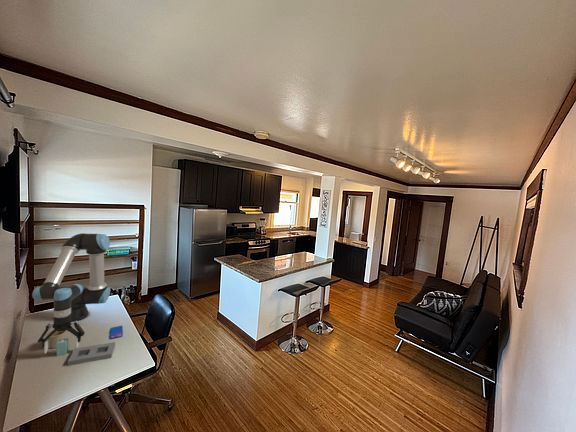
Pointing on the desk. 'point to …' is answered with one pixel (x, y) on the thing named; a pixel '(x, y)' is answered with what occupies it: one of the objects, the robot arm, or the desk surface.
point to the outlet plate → (91, 353)
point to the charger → (62, 347)
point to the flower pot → (55, 338)
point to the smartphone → (116, 332)
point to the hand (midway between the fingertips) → (62, 349)
